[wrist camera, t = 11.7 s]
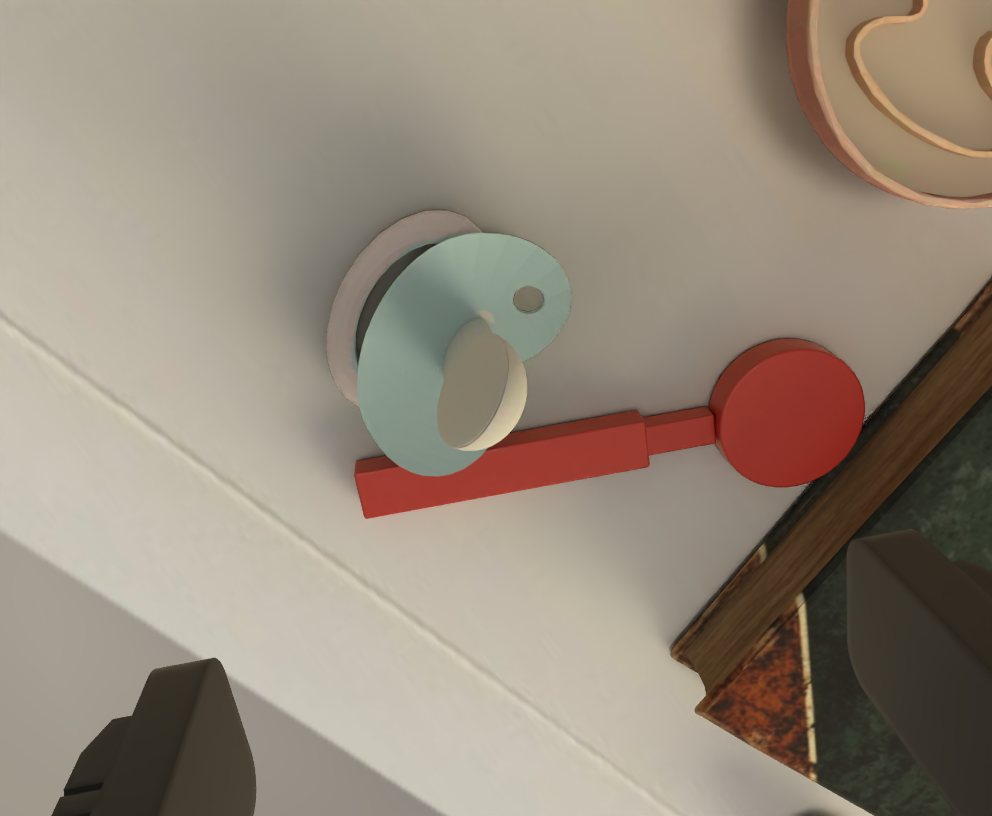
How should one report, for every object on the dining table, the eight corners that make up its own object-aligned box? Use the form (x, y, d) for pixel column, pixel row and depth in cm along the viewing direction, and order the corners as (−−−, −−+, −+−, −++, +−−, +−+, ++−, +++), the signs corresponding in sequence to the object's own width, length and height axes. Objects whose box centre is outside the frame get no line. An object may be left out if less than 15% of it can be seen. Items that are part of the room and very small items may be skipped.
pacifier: (289, 379, 27) (463, 466, 28) (248, 461, 21) (471, 567, 22) (406, 160, 25) (586, 266, 26) (396, 183, 19) (630, 318, 20)
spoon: (375, 546, 29) (374, 565, 28) (344, 416, 27) (342, 431, 26) (848, 458, 29) (866, 474, 28) (847, 325, 28) (865, 336, 26)
